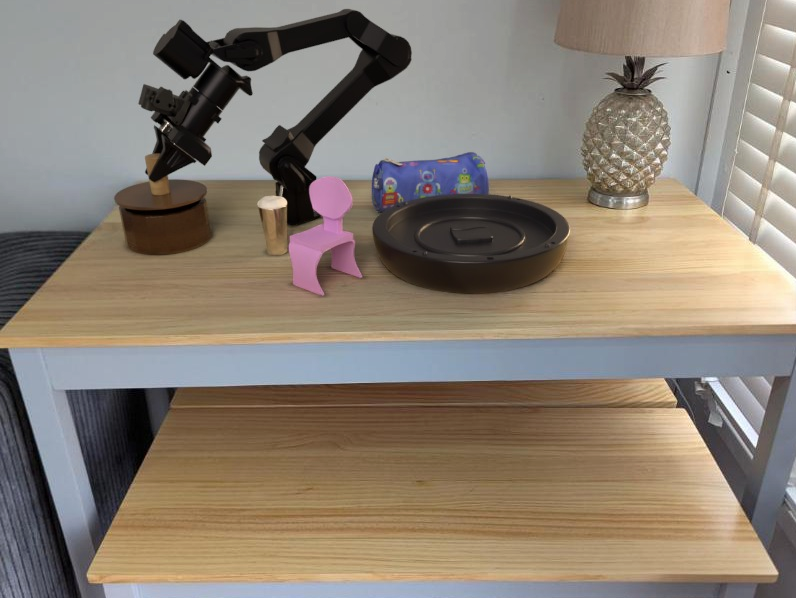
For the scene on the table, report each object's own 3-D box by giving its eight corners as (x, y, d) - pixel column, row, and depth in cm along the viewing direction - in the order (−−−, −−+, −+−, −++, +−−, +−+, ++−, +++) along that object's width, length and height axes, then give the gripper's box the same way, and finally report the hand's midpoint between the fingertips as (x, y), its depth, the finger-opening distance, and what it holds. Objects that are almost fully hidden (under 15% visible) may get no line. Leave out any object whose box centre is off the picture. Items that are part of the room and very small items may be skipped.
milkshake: (299, 247, 126) (294, 187, 121) (281, 258, 122) (275, 197, 117) (276, 243, 128) (269, 183, 123) (257, 254, 124) (250, 193, 119)
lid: (213, 184, 133) (207, 142, 130) (199, 212, 121) (192, 167, 117) (127, 187, 133) (119, 145, 129) (104, 215, 120) (94, 170, 116)
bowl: (216, 224, 136) (210, 188, 133) (203, 253, 125) (197, 215, 121) (137, 227, 136) (130, 191, 133) (117, 256, 124) (109, 218, 121)
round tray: (363, 231, 132) (387, 307, 106) (362, 197, 129) (386, 266, 103) (533, 219, 136) (596, 289, 110) (535, 185, 133) (600, 250, 107)
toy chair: (285, 284, 114) (275, 183, 106) (328, 265, 119) (321, 169, 112) (325, 299, 109) (318, 195, 101) (367, 279, 115) (363, 179, 107)
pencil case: (375, 220, 137) (373, 166, 132) (366, 204, 144) (363, 153, 139) (493, 208, 141) (495, 156, 137) (478, 194, 149) (480, 144, 144)
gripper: (154, 56, 125) (97, 133, 127) (177, 73, 111) (112, 161, 112) (209, 101, 132) (155, 174, 134) (238, 123, 117) (176, 205, 119)
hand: (149, 177), depth 124 cm, fingers closed on lid, 3 cm apart
